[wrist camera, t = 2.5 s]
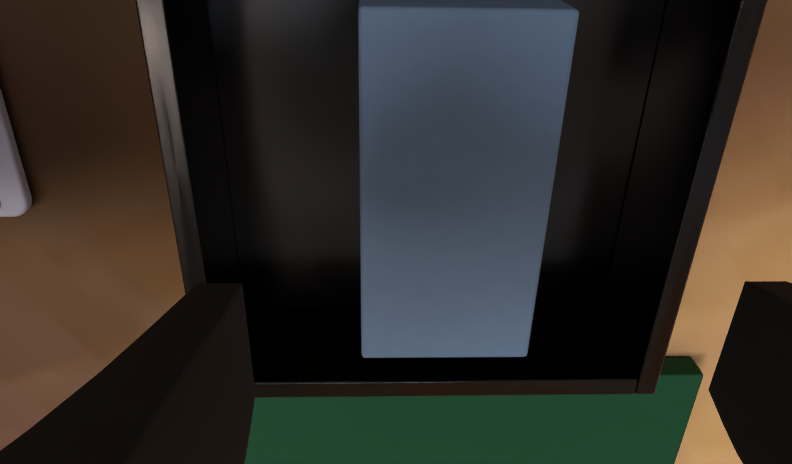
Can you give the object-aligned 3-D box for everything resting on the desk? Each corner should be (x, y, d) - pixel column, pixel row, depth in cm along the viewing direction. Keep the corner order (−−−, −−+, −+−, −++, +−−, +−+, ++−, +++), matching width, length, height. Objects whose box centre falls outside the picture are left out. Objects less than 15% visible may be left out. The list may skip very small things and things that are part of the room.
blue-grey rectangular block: (363, 245, 20) (361, 359, 15) (362, -29, 16) (358, 5, 11) (490, 244, 20) (527, 358, 15) (518, -26, 16) (581, 9, 11)
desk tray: (230, 316, 21) (202, 399, 18) (165, -177, 15) (100, -199, 11) (609, 314, 22) (654, 395, 18) (716, -163, 15) (820, -179, 12)
